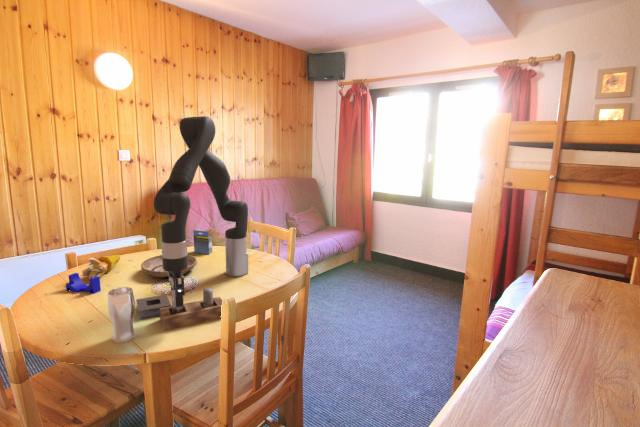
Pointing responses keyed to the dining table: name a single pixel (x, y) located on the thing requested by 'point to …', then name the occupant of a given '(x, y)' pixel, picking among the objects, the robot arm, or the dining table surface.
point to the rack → (192, 311)
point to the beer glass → (122, 313)
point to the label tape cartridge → (202, 242)
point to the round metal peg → (174, 308)
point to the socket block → (151, 306)
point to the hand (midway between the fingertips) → (177, 301)
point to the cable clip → (79, 286)
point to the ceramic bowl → (156, 266)
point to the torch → (100, 266)
